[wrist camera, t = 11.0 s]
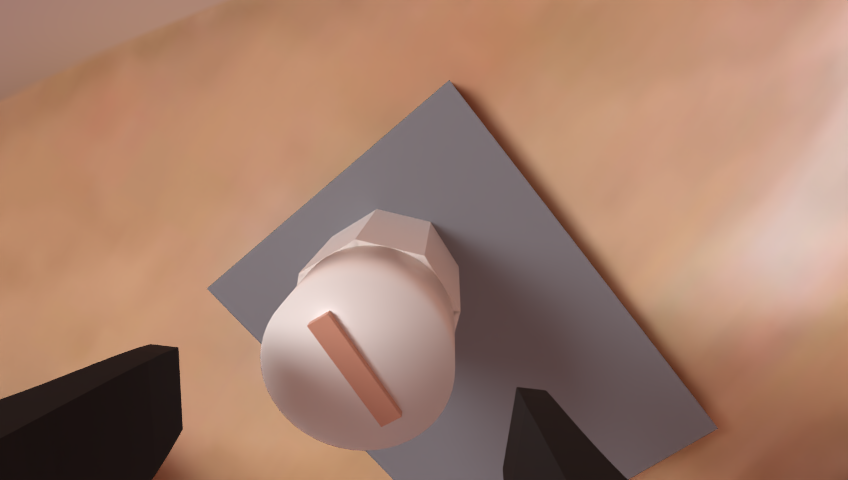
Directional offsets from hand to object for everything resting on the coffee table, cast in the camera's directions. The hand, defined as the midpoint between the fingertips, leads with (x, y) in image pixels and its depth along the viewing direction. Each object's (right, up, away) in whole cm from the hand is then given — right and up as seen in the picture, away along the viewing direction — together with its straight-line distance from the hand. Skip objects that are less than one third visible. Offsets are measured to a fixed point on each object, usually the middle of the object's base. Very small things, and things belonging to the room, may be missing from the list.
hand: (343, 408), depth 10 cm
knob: (0, +2, +8) cm, 8 cm away
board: (+3, -1, +10) cm, 10 cm away
